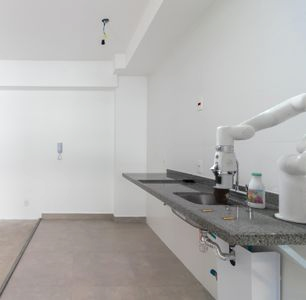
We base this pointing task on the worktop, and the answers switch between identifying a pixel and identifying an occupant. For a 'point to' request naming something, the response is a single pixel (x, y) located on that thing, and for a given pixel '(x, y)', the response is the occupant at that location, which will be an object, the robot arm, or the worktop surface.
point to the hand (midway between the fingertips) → (224, 183)
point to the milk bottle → (256, 192)
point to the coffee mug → (221, 195)
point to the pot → (225, 181)
